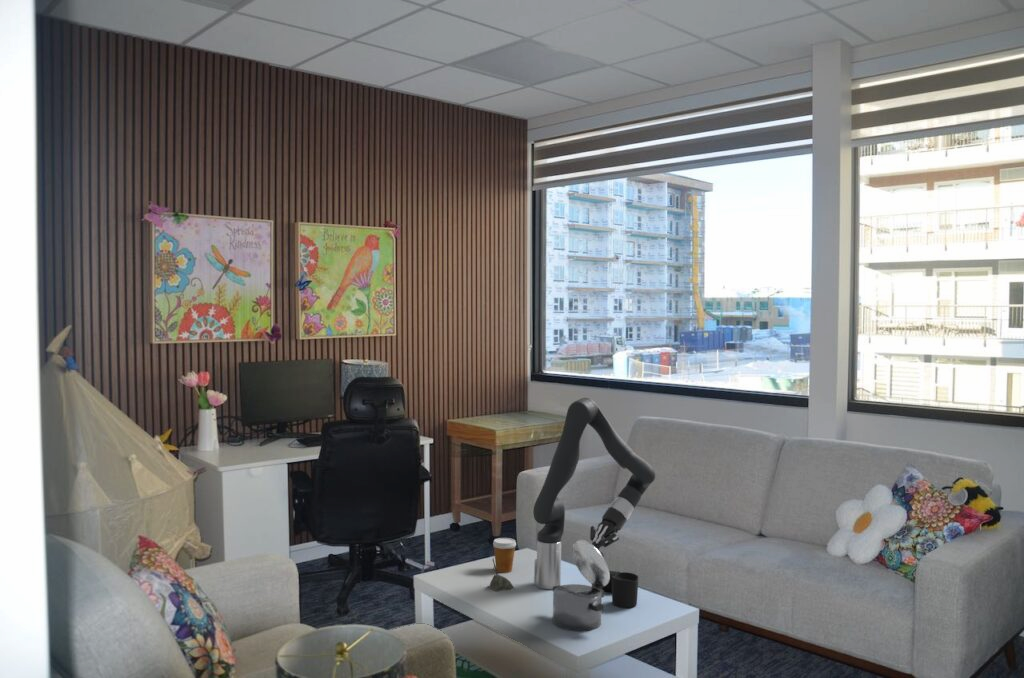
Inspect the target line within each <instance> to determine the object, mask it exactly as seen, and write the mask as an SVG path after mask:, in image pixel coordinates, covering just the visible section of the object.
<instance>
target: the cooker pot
mask: <svg viewBox="0 0 1024 678" xmlns="http://www.w3.org/2000/svg"><path fill="white" fill-rule="evenodd" d="M552 593H553V594H552V597H553V598H552V624H553V625H555V626H556V627H558V628H559V629H560V628H561V629H562V630H566V631H571V632H572V631H573V632H587V631H593V630H596V629H598V628H600V626H601V625H602V611H604V610H605V609H604V608H605V607H604V606H605V605H604V604H602V598H604V597H605V592H604V590H601V589H598V588H596V587H592V585H591V586H590V585H587V584H575V583H571V584H563V585H561V586H560V585H559V586H554V587H553V589H552Z"/></svg>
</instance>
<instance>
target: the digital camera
mask: <svg viewBox="0 0 1024 678" xmlns="http://www.w3.org/2000/svg"><path fill="white" fill-rule="evenodd" d="M609 572H610V580H609V583H608V584H607V585H606V586H604V587H602V589H601V590H604V593H610V594H612V575H613V576H615V575H617V574H618V573H621V571H616V570H615V571H614V570H609ZM591 586H592V585H591ZM592 587H594V586H592Z"/></svg>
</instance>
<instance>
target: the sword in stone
mask: <svg viewBox="0 0 1024 678" xmlns="http://www.w3.org/2000/svg"><path fill="white" fill-rule="evenodd" d="M492 562H493V567H492V568H493V572H494V573H495V574H494V575H493V577H492V579H491V581H490V584H489V585H487V586H486V588H487V589H488V590H490V591H492V592H499V591H509V590H510V591H511V590H513V589H515V587H514V585H513V584H512V582H511V581H510V580H508V579H507V578H506V577H505V576H503V575H500V574H498V569H497V570H496V567H497V566H496V562H495V558H492Z"/></svg>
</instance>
